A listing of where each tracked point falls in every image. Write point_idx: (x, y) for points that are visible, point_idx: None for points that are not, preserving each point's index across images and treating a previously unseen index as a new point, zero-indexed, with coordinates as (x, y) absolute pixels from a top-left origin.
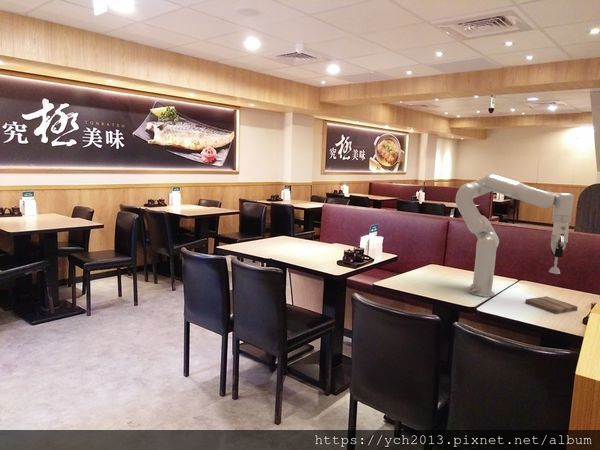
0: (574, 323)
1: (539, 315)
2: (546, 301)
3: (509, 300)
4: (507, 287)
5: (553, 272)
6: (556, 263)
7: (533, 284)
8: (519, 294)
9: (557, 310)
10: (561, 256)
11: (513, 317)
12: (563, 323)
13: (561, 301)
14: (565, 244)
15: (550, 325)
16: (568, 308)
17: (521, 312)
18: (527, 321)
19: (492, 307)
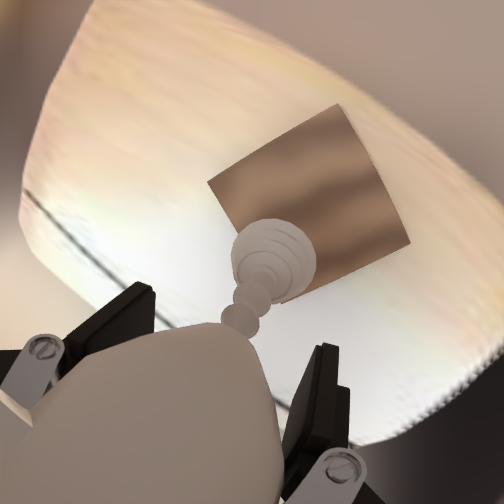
0: (492, 223)
1: (423, 310)
2: (293, 223)
3: (262, 338)
4: (98, 264)
5: (303, 288)
6: (268, 299)
7: (40, 149)
8: (167, 261)
9: (406, 234)
10: (335, 358)
11: (434, 392)
12: (492, 265)
13: (273, 145)
14: (220, 463)
15: (500, 318)
16: (373, 165)
17: (395, 356)
18: (466, 368)
19: (350, 413)
